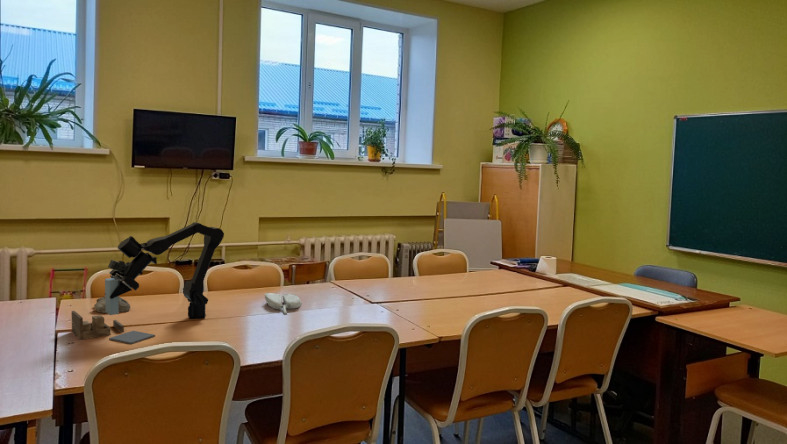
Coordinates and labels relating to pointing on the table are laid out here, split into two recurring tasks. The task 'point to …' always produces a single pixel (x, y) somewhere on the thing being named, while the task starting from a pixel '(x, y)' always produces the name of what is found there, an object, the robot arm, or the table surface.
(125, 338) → the mat
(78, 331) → the rack
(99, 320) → the offcut tall
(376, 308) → the table surface
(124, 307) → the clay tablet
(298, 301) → the lung model
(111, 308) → the pale blue wedge-ended prism
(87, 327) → the offcut short
